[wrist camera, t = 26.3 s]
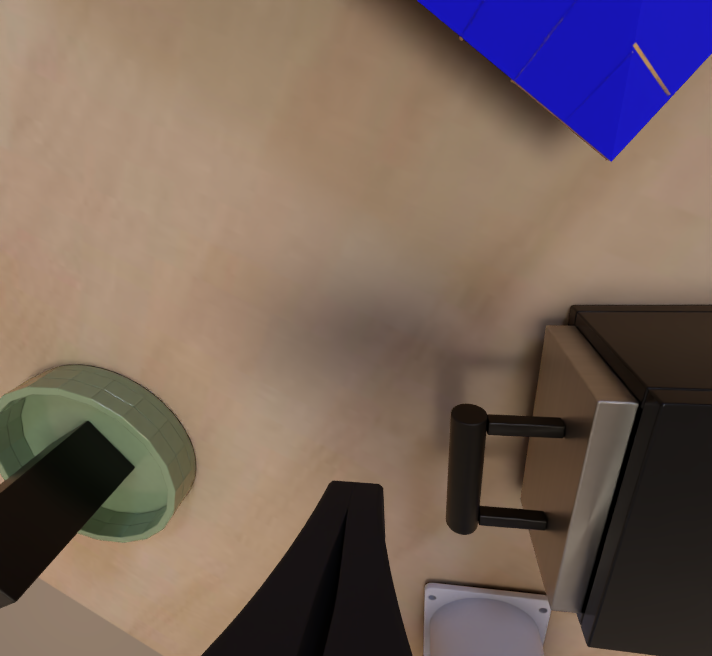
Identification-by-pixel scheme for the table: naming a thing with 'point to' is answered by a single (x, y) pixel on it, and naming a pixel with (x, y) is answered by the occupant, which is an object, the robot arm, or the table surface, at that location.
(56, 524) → the iron block
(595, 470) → the drawer
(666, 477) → the dark brown drawer box
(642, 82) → the blue roofed model house
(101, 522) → the dish
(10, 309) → the table surface
